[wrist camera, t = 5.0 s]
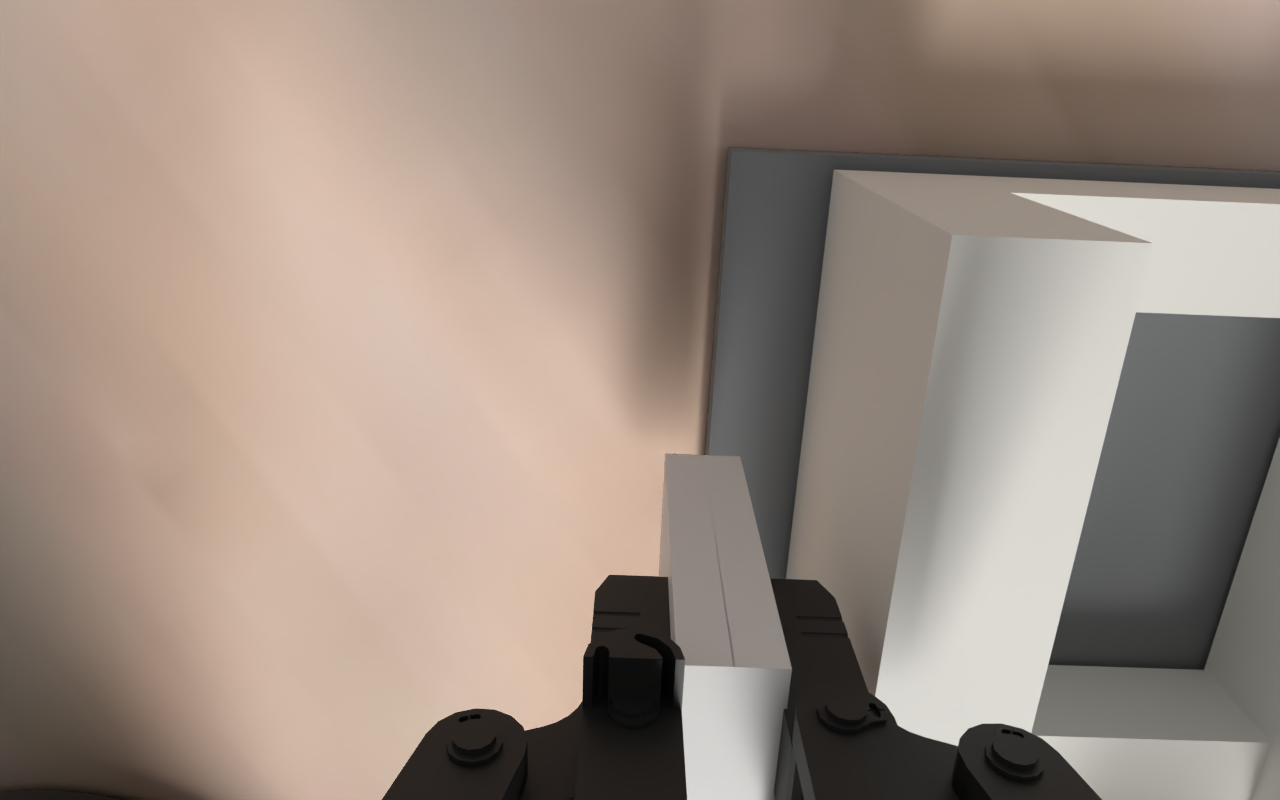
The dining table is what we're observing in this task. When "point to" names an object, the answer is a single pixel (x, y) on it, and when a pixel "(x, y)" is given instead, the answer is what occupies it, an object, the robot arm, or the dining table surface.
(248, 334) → the dining table surface
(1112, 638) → the board
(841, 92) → the dining table surface
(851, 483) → the frame block
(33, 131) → the dining table surface
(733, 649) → the robot arm
